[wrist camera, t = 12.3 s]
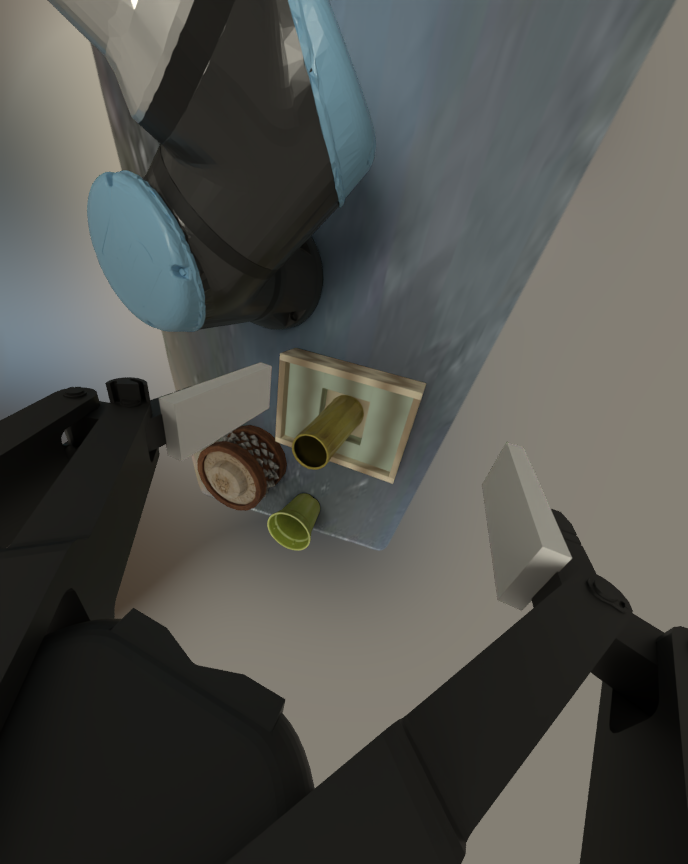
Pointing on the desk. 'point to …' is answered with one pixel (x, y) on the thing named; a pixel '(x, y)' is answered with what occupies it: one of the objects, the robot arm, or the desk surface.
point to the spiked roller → (242, 467)
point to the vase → (327, 432)
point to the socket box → (375, 390)
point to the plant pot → (295, 522)
